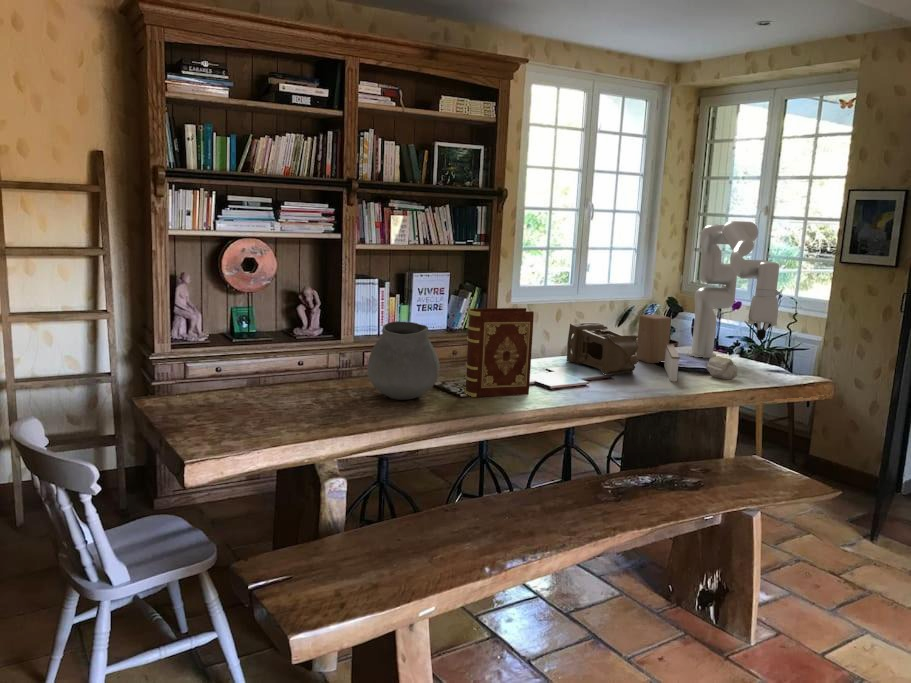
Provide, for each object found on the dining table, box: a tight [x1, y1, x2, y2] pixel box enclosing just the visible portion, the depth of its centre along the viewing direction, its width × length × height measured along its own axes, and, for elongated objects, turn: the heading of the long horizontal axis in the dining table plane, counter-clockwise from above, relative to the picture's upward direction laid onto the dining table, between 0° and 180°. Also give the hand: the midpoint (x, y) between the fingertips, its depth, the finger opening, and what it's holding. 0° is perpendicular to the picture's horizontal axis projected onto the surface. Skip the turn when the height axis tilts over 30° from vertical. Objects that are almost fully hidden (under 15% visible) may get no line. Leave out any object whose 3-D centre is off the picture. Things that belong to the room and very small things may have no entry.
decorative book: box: [464, 307, 535, 398], centre depth 259 cm, size 22×8×30 cm, turn 106°
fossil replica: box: [706, 355, 738, 380], centre depth 298 cm, size 12×8×10 cm
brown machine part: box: [566, 321, 639, 375], centre depth 303 cm, size 35×18×18 cm, turn 27°
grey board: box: [663, 343, 681, 382], centre depth 301 cm, size 27×3×10 cm, turn 169°
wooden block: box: [636, 313, 672, 364], centre depth 323 cm, size 10×10×20 cm
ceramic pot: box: [367, 320, 441, 401], centre depth 250 cm, size 24×24×25 cm
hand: (760, 339), depth 293 cm, fingers closed
